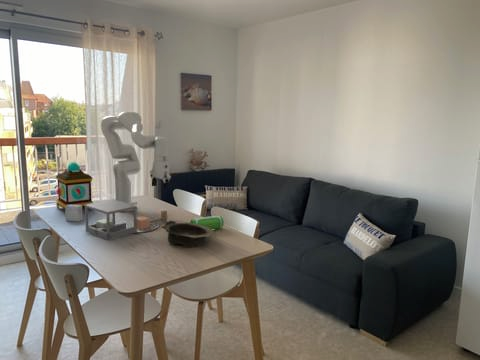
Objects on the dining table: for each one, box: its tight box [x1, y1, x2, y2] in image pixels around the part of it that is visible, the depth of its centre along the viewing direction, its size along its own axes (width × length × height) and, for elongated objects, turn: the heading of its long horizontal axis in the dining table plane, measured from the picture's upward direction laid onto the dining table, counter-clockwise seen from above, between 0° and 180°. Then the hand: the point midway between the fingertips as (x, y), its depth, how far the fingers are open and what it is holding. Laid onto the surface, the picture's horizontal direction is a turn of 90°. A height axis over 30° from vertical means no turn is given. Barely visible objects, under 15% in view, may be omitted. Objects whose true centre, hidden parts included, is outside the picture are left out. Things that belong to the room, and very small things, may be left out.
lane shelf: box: [84, 199, 138, 241], centre depth 190 cm, size 17×20×14 cm
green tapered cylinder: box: [189, 215, 224, 230], centre depth 200 cm, size 18×7×8 cm, turn 120°
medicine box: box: [64, 205, 83, 223], centre depth 207 cm, size 8×4×9 cm, turn 84°
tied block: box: [137, 210, 168, 230], centre depth 206 cm, size 20×6×6 cm, turn 143°
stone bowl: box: [161, 220, 214, 248], centre depth 180 cm, size 25×25×9 cm
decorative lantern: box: [55, 161, 94, 210], centre depth 228 cm, size 20×20×30 cm
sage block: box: [95, 218, 113, 229], centre depth 193 cm, size 6×6×5 cm
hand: (159, 187), depth 213 cm, fingers open, 9 cm apart
